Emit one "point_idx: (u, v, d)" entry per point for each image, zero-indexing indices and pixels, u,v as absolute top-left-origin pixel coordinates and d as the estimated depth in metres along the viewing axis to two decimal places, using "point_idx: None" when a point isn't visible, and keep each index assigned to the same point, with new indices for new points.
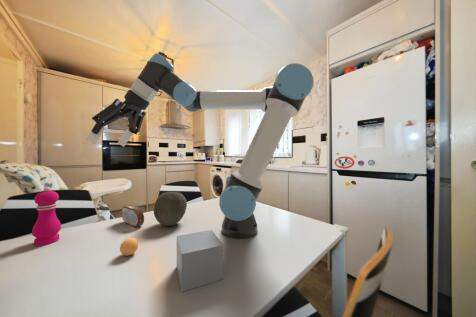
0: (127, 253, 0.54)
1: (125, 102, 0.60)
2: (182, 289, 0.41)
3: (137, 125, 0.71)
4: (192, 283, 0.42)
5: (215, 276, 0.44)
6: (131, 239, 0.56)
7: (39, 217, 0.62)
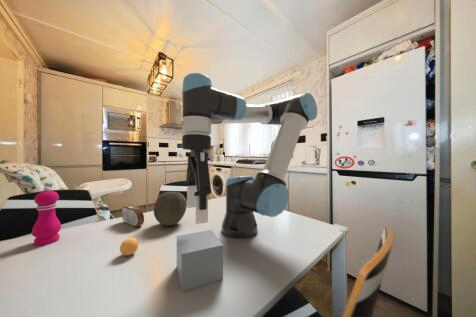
0: (127, 253, 0.54)
1: (198, 152, 0.44)
2: (182, 289, 0.41)
3: None
4: (192, 283, 0.42)
5: (215, 276, 0.44)
6: (131, 239, 0.56)
7: (39, 217, 0.62)
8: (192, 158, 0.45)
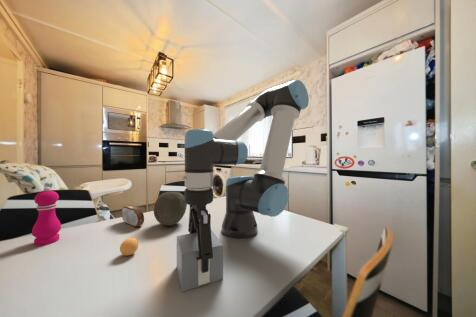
0: (127, 253, 0.54)
1: (201, 208, 0.44)
2: (182, 289, 0.41)
3: None
4: (192, 283, 0.42)
5: (215, 276, 0.44)
6: (131, 239, 0.56)
7: (39, 217, 0.62)
8: (195, 213, 0.45)
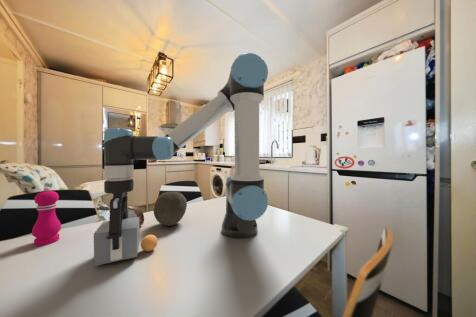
0: (146, 243, 0.56)
1: (116, 196, 0.51)
2: (95, 264, 0.48)
3: None
4: (105, 259, 0.49)
5: (128, 254, 0.52)
6: None
7: (39, 217, 0.62)
8: (112, 201, 0.52)
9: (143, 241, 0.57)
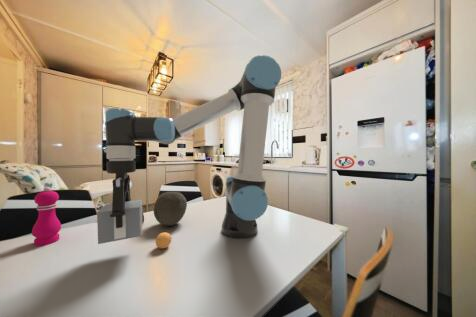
0: (166, 240, 0.59)
1: (118, 176, 0.51)
2: (99, 242, 0.48)
3: None
4: (109, 237, 0.49)
5: (132, 233, 0.52)
6: None
7: (39, 217, 0.62)
8: None
9: (168, 236, 0.60)
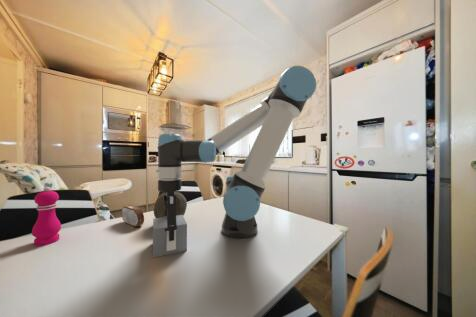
0: None
1: (169, 194, 0.58)
2: (153, 255, 0.54)
3: None
4: (161, 251, 0.55)
5: (180, 248, 0.58)
6: None
7: (39, 217, 0.62)
8: (165, 198, 0.59)
9: None
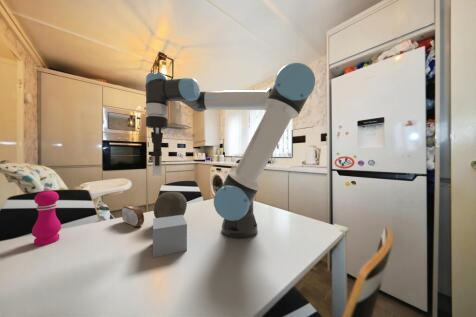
0: None
1: (156, 128, 0.63)
2: (153, 255, 0.54)
3: None
4: (161, 251, 0.55)
5: (180, 248, 0.58)
6: None
7: (39, 217, 0.62)
8: (152, 133, 0.64)
9: None
